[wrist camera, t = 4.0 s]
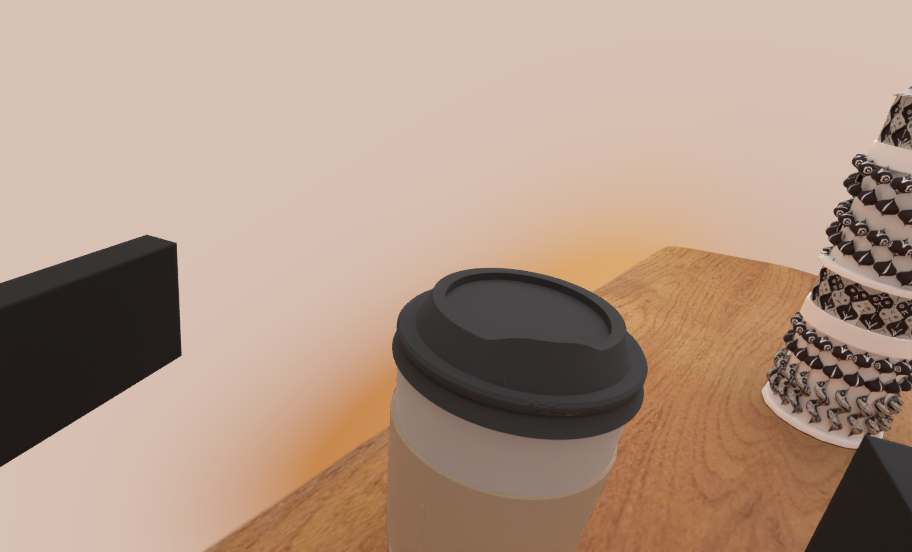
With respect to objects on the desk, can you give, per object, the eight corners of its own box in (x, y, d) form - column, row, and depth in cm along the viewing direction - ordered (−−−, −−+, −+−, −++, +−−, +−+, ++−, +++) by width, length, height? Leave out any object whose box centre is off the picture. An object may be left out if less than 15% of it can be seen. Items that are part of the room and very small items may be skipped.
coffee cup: (369, 511, 29) (401, 235, 23) (540, 520, 30) (612, 259, 24) (352, 704, 21) (397, 351, 15) (590, 706, 22) (716, 379, 16)
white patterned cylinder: (758, 367, 50) (881, 69, 41) (880, 409, 47) (1047, 93, 37) (752, 416, 43) (902, 65, 33) (896, 471, 39) (1112, 94, 30)
